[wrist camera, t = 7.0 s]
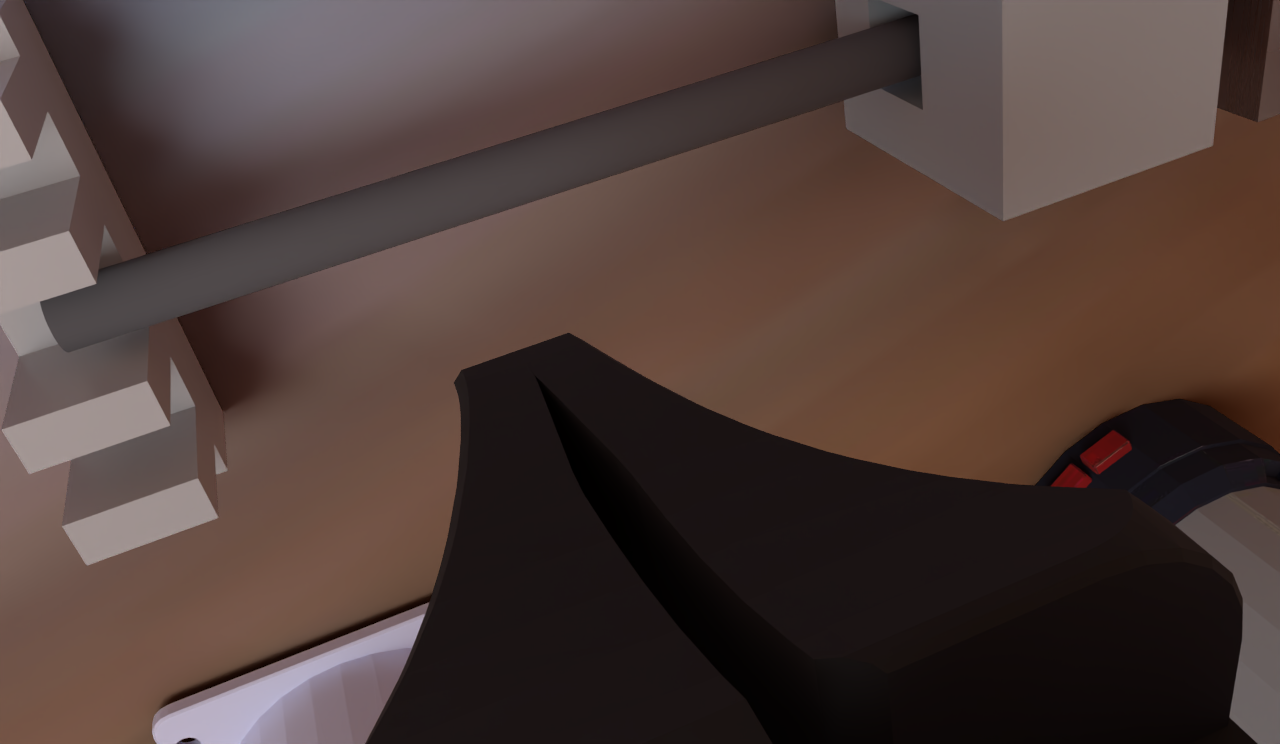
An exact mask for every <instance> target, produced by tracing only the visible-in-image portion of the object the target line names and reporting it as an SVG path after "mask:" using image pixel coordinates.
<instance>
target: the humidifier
mask: <svg viewBox="0 0 1280 744" xmlns="http://www.w3.org/2000/svg"><path fill="white" fill-rule="evenodd" d="M1035 486H1055V487H1077V488H1100V489H1122V490H1127V491H1128V492H1129V493H1131V494H1132V495H1134V496H1135V497H1137V498H1138V499H1140V500H1141V501H1143V502H1144V503H1146V504H1147V505H1148V506H1150V507H1151V508H1152V509H1154V510H1155V511H1157V512H1158V513H1159V514H1161V515H1162V516H1164V517H1165V518H1166V519H1168V520H1169V521H1171V522H1172V523H1173V524H1174V525H1175V526H1177V527H1178V528H1179V529H1180V530H1181V531H1183V532H1184V533H1185V534H1186V535H1187V536H1189V537H1190V538H1191V539H1192V540H1194V541H1195V542H1196V543H1197V544H1198V545H1200V546H1201V547H1202V548H1203V549H1204V550H1206V551H1207V552H1208V553H1209V554H1210V555H1212V556H1213V557H1214V558H1215V559H1216V560H1218V561H1219V562H1220V563H1221V564H1222V565H1223V566H1225V567H1226V568H1227V569H1228V570H1229V571H1231V572H1232V573H1233V575H1234V578H1235V580H1236V583H1237V585H1238V588H1239V590H1240V593H1241V595H1242V598H1243V631H1242V643H1241V649H1240V655H1239V662H1238V668H1237V674H1236V680H1235V686H1234V692H1233V698H1232V704H1231V710H1230V716H1229V717H1230V718H1231V719H1232V720H1233V721H1234V722H1235V723H1236V724H1237V725H1238V726H1239V727H1240V728H1241V729H1242V730H1244V731H1245V732H1246V733H1247V734H1248V735H1249V736H1250V737H1251V738H1252V739H1253V740H1254V741H1255V742H1256V743H1258V744H1280V454H1279V453H1278V452H1277V451H1276V450H1275V449H1274V448H1273V447H1272V446H1270V445H1269V444H1267V443H1266V442H1264V441H1263V440H1261V439H1260V438H1258V437H1257V436H1255V435H1253V434H1252V433H1250V432H1249V431H1247V430H1246V429H1244V428H1243V427H1241V426H1240V425H1238V424H1237V423H1235V422H1233V421H1232V420H1230V419H1229V418H1227V417H1226V416H1224V415H1223V414H1221V413H1220V412H1218V411H1217V410H1215V409H1213V408H1212V407H1210V406H1208V405H1204V404H1199V403H1195V402H1191V401H1186V400H1182V399H1176V400H1170V401H1164V402H1157V403H1151V404H1145V405H1141V406H1139V407H1137V408H1135V409H1133V410H1130V411H1128V412H1126V413H1124V414H1122V415H1120V416H1117V417H1115V418H1113V419H1111V420H1109V421H1107V422H1104V423H1103V424H1101V425H1100V426H1099V427H1097V428H1096V429H1095V430H1093V431H1092V432H1091V433H1089V434H1088V435H1087V436H1085V437H1084V438H1083V439H1081V440H1080V441H1079V442H1077V443H1076V444H1075V445H1074V446H1072V447H1071V448H1070V449H1068V450H1067V451H1066V452H1065V453H1064V454H1063V455H1062V456H1061V457H1060V458H1059V459H1058V460H1057V462H1056V463H1055V464H1054V465H1053V466H1052V467H1051V468H1050V469H1049V471H1048V472H1047V473H1046V474H1045V475H1044V476H1043V477H1042V479H1041V480H1040V481H1039V482H1038V483H1037V484H1036V485H1035Z"/></svg>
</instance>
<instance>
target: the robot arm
mask: <svg viewBox="0 0 1280 744" xmlns="http://www.w3.org/2000/svg"><path fill="white" fill-rule="evenodd" d="M454 384H455V387H456V390H457V393H458V396H459V402H460V411H461V445H460V458H459V470H458V481H457V489H456V495H455V500H454V506H453V511H452V517H451V522H450V528H449V533H448V538H447V542H446V546H445V550H444V555H443V559H442V562H441V566H440V570H439V573H438V577H437V580H436V583H435V586H434V589H433V593H432V596H431V599H430V602H428V603H426V604H423V605H421V606H418V607H416V608H413V609H411V610H408V611H405V612H403V613H400V614H398V615H395V616H393V617H390V618H388V619H385V620H382V621H380V622H377V623H375V624H372V625H370V626H367V627H365V628H362V629H359V630H357V631H354V632H352V633H349V634H347V635H344V636H342V637H339V638H337V639H334V640H331V641H329V642H326V643H324V644H321V645H319V646H316V647H314V648H311V649H308V650H306V651H303V652H301V653H298V654H296V655H293V656H291V657H288V658H285V659H283V660H280V661H278V662H275V663H273V664H270V665H268V666H265V667H263V668H260V669H257V670H255V671H252V672H250V673H247V674H245V675H242V676H240V677H237V678H234V679H232V680H229V681H227V682H224V683H222V684H219V685H217V686H214V687H212V688H209V689H206V690H204V691H201V692H199V693H196V694H194V695H191V696H189V697H186V698H183V699H181V700H178V701H176V702H173V703H171V704H168V705H166V706H165V707H163V708H161V709H160V710H159V711H158V712H157V713H156V714H155V715H154V719H153V722H152V734H153V737H154V740H155V742H156V743H157V744H1258V743H1256V742H1255V741H1254V740H1253V739H1252V738H1251V737H1250V736H1249V735H1248V734H1247V733H1246V732H1245V731H1244V730H1242V729H1241V728H1240V727H1239V726H1238V725H1237V724H1236V723H1235V722H1234V721H1233V720H1232V719H1231V718H1230V717H1229V716H1230V710H1231V704H1232V698H1233V692H1234V686H1235V680H1236V674H1237V668H1238V662H1239V655H1240V649H1241V643H1242V631H1243V598H1242V595H1241V593H1240V590H1239V588H1238V585H1237V583H1236V580H1235V578H1234V575H1233V573H1232V572H1231V571H1229V570H1228V569H1227V568H1226V567H1225V566H1223V565H1222V564H1221V563H1220V562H1219V561H1218V560H1216V559H1215V558H1214V557H1213V556H1212V555H1210V554H1209V553H1208V552H1207V551H1206V550H1204V549H1203V548H1202V547H1201V546H1200V545H1198V544H1197V543H1196V542H1195V541H1194V540H1192V539H1191V538H1190V537H1189V536H1187V535H1186V534H1185V533H1184V532H1183V531H1181V530H1180V529H1179V528H1178V527H1177V526H1175V525H1174V524H1173V523H1172V522H1171V521H1169V520H1168V519H1166V518H1165V517H1164V516H1162V515H1161V514H1159V513H1158V512H1157V511H1155V510H1154V509H1152V508H1151V507H1150V506H1148V505H1147V504H1146V503H1144V502H1143V501H1141V500H1140V499H1138V498H1137V497H1135V496H1134V495H1132V494H1131V493H1129V492H1128V491H1127V490H1122V489H1100V488H1077V487H1055V486H1033V485H1016V484H1005V483H997V482H989V481H980V480H972V479H963V478H955V477H947V476H941V475H935V474H929V473H922V472H916V471H910V470H905V469H900V468H896V467H891V466H886V465H882V464H877V463H872V462H867V461H863V460H858V459H853V458H850V457H846V456H842V455H838V454H834V453H830V452H826V451H823V450H819V449H816V448H813V447H810V446H807V445H803V444H800V443H797V442H794V441H791V440H788V439H784V438H781V437H778V436H775V435H772V434H769V433H766V432H764V431H761V430H758V429H755V428H753V427H750V426H747V425H745V424H742V423H740V422H738V421H735V420H733V419H731V418H728V417H726V416H723V415H721V414H719V413H716V412H714V411H712V410H709V409H707V408H705V407H703V406H700V405H698V404H696V403H694V402H692V401H690V400H688V399H686V398H684V397H682V396H680V395H678V394H677V393H675V392H673V391H671V390H669V389H667V388H665V387H663V386H661V385H659V384H657V383H655V382H653V381H651V380H650V379H648V378H646V377H644V376H642V375H641V374H639V373H637V372H635V371H634V370H632V369H630V368H628V367H627V366H625V365H623V364H621V363H620V362H618V361H616V360H615V359H613V358H611V357H610V356H608V355H606V354H605V353H603V352H601V351H600V350H598V349H596V348H595V347H593V346H591V345H590V344H588V343H586V342H585V341H583V340H581V339H579V338H578V337H576V336H574V335H572V334H570V333H567V334H564V335H561V336H558V337H555V338H552V339H549V340H547V341H544V342H541V343H538V344H535V345H532V346H529V347H527V348H524V349H521V350H518V351H515V352H512V353H509V354H506V355H504V356H501V357H498V358H495V359H492V360H489V361H486V362H483V363H481V364H478V365H475V366H472V367H469V368H466V369H463V370H461V372H460V374H459V375H458V377H457V379H456V380H455V382H454ZM189 737H190V738H196V739H195V740H194V741H191V742H186V743H185V742H179V741H180V740H182V739H185V738H189Z"/></svg>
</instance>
